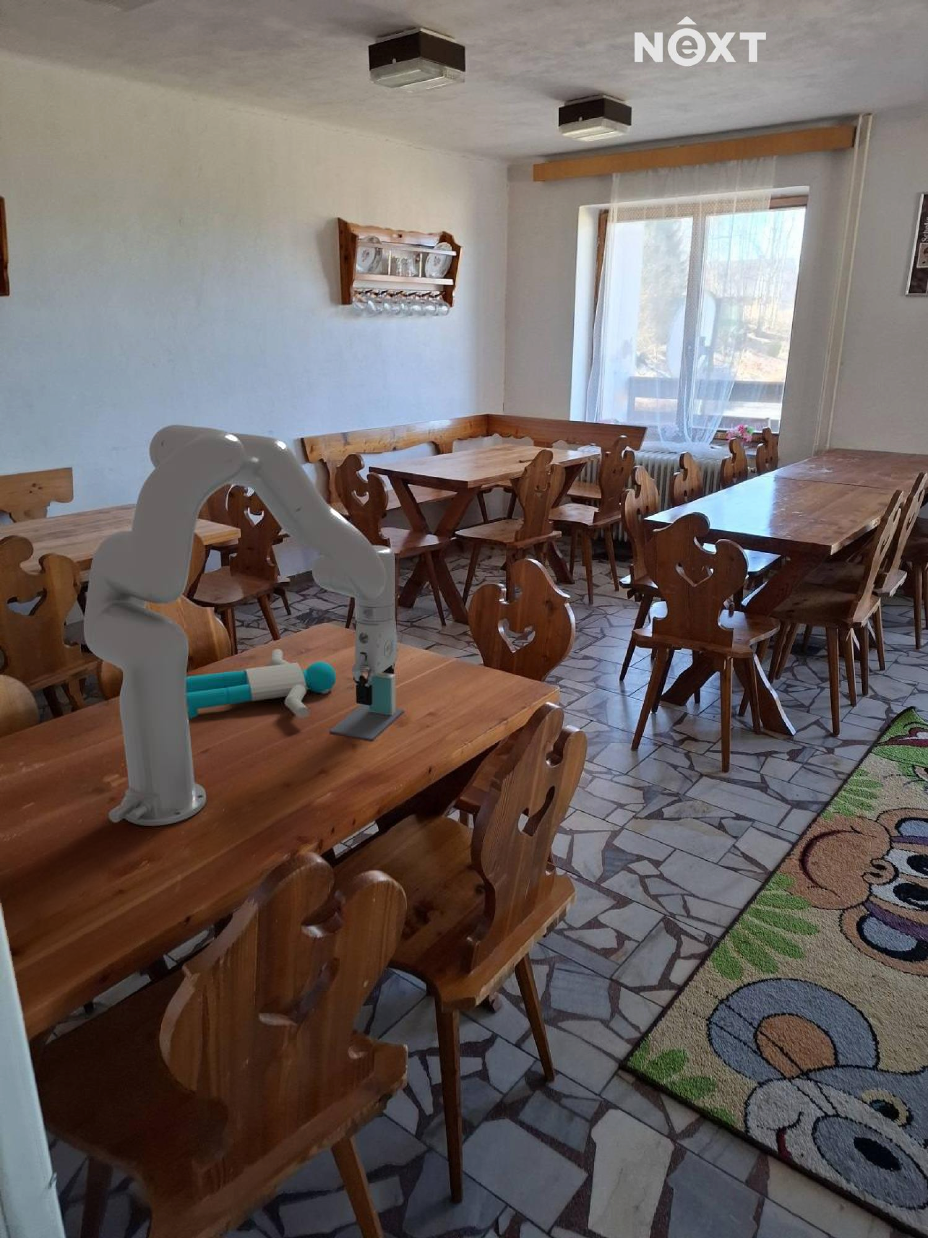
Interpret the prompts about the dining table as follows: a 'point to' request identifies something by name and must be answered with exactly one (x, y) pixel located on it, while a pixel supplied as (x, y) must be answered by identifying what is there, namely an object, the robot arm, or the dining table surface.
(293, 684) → the toy
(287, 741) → the dining table surface
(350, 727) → the mat
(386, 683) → the slab
